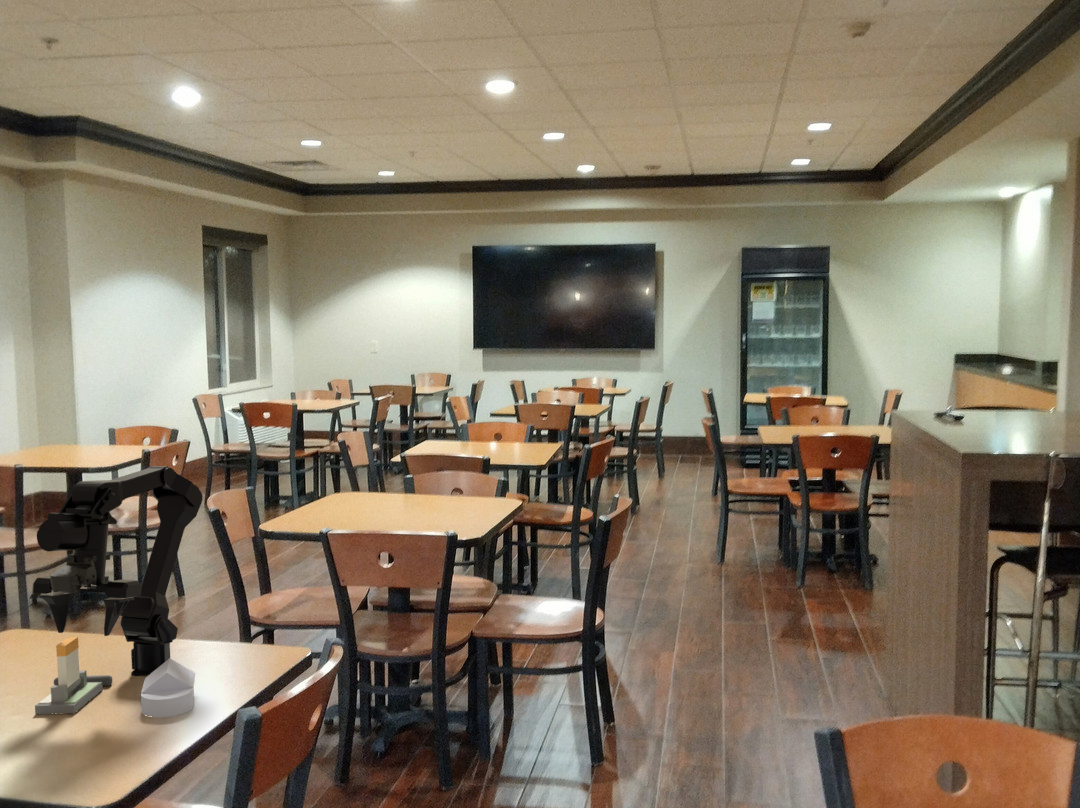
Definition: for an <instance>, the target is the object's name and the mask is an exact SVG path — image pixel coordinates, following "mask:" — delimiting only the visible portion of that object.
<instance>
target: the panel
mask: <svg viewBox="0 0 1080 808" xmlns="http://www.w3.org/2000/svg"><path fill="white" fill-rule="evenodd" d="M87 673H88V672H87V670H86V669H85V670H80V669H79V677H80V678H81V684H80V685H79V686H78V687H76V688H75V689H74V690H73V691H71V692H70V693H69V694H68V693H67V685H54V684H53V685H52V686H51V687H50V693H49V694H48V695H46V697H44V698H43V699H42V700H40V701H39V702H38V703H36V704H35V705H34V711H35V712H34V713H35V714H39V715H60V714H59V713H75V712H76V711H77V712H79V711H80V710H81V709H82V708H83V707H85V706H86V705H87V704H88V703H89V702H91V701H92V700H93V699H94V698H95V697H97V696H98V695H99V694H100V693H101V692H102V691H103V690H104V689H103V687H104V686H102V682H87V676H88V674H87ZM100 691H101V692H100ZM99 692H100V693H99ZM98 693H99V694H98ZM93 697H94V698H93ZM92 698H93V699H92ZM91 699H92V700H91ZM88 701H89V702H88ZM87 702H88V703H87ZM86 703H87V704H86ZM85 704H86V705H85ZM81 707H82V708H81ZM80 708H81V709H80ZM79 709H80V710H79ZM78 710H79V711H78ZM77 712H76V713H77ZM52 713H53V714H52ZM55 713H57V714H55ZM76 713H75V714H76Z"/></svg>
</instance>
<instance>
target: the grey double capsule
mask: <svg viewBox="0 0 1080 808" xmlns="http://www.w3.org/2000/svg"><path fill="white" fill-rule="evenodd" d="M87 682H102V687H111V686H112V684H113V677H112V676H111V675H108V674H107V675H106V674H105V675H92V674H91V675H87ZM54 685H58V676H57V677H55V678H54V679H53V686H54ZM110 685H111V686H110Z"/></svg>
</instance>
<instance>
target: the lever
mask: <svg viewBox="0 0 1080 808" xmlns="http://www.w3.org/2000/svg"><path fill="white" fill-rule="evenodd" d="M79 647H80V646H79V636H71V637H70V636H69V637H67V638H66V639H64V640H62V641H61V642H60V643H58V644H57V645H56V646H55V648H56V651H55V652H56V660H57V662H56V663H57V677H58V685H67V693H68V694H69V693H70V692H71V691H73V690H74V689H75V688H76V687H78V686H79V685H80V684H81V678H80V677H79V670H80V660H79V659H80V657H79Z"/></svg>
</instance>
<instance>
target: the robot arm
mask: <svg viewBox="0 0 1080 808" xmlns="http://www.w3.org/2000/svg"><path fill="white" fill-rule="evenodd" d="M149 491H150V495H151V496H153V498H154V499H155V500H156V501H157V503H156V504H157V505H156V511H157V514H158V519H159V526H158V530H157V532H156V535H155V539H154V543H153V547H152V549H151V553H150V555H149V559H148V562H147V565H146V569H145V572H144V576H143V580H142V582H141V583H140V581H139V580H138V579H137V580H135V579H117V580H116V579H115V580H111V581H109V580H110V578H109V577H110V576H108V575H106V567H107V566H106V564H107V561H109V560H111V554H109V553H107V552H108V538H109V537H108V536H109V525H116V524H118V520H117V519H116V518H115V517H113V515H112V514H111V512H112V511H114V510H115V509H117V508H118V507H120V506H121V505H122V503H123V501H125V500H127V499H128V498H129V499H130V498H133V497H135V496H138V495H141V494H144V493H146V492H149ZM202 503H203V494H202V491H201V490H200V488H199V487H198V486H197V485H196V484H194V482H192V481H191V480H189V479H188V478H186V477H184V476H182V475H180V474H178V472H177V471H175V470H174V468H172V467H170V466H169V465H167V466H166V465H163V466H162V465H160V466H159V465H152V466H148V467H147V468H144V469H141V470H139V471H135V472H132V473H129V474H125V475H123V476H118V477H115V478H112V479H104V480H103V479H102V480H99V479H98V480H80V481H79V482H77V483H76V484H75V485H74V486H73V489H72V491H71V492H70V494H69V496H68V497H67V498H66V500H65V502H64V503H63V505H62V507H61V508H60V510H59V511H58V512H48V513H47V519H45V520H44V521H43V522H42V523H41V524H40V525H39V528H38V530H37V531H36V541H37V544H38V546H39V547H40V548H41V550H43V551H45V552H63V551H64V552H65V551H72V553H71V554H68V556H67V557H66V558H67V560H66V564H65V565H63V566H61V567H59V568H58V569H56V570H55V571H52V572H51V573H50V574H49V575H47V576H40V577H37V578H35V580H34V581H33V583H32V588H31V593H32V594H37V595H38V598H39V599H43V600H44V601H45V602H46V603H47V604H48V607H49V608H50V611H51V613H52V617H53V620H54V623H55V627H56V630H57V633H59V634H62V633H64V632H65V629H66V625H67V619H68V614H69V613H68V612H69V608H70V600H71V595H72V594H74V593H77V592H82V593H85V592H86V593H97V594H98V593H99V594H100V593H101V594H105V595H106V596H107V598H103V599H102V602H103V603H104V606H105V614H104V624H103V634H104V637H108V636H110V634H111V632H112V631H113V629H114V627H115V625H116V623H117V621H118V620H119V618H120V617H121V619H120V627H121V629H122V631H123V636H124V638H125V640H126V642H127V643H130V642H131V643H132V645H133V647H132V649H131V650H130V653H131V654H130V659H131V660H130V661H131V670H132V671H131V672H130V675H131V676H148V675H150V674H151V673H152V672H153V671H155V670H156V669H157V668H158V667H159V666H161V665H162V664H163V663H164V662H166V661H167V660H168V659H169V658H170V659H171V643H173V641H174V640H176V639H177V635H178V630H179V629H178V627H177V626H176V625H175V624H174V623H173V622H172V621H171V620H170V619H169V614H170V608H169V604H168V601H167V597H166V595H167V592H168V591H167V590H168V587H169V583H170V580H171V576H172V573H173V570H174V566H175V563H176V560H177V556H178V554H179V553H178V552H179V549H180V546H181V542H182V539H183V536H184V532H185V529H186V527H187V526H188V525H189V524H190V523H192V521H193V520H194V519H195V518H196V517H197V515H198V512H199V511H200V507H201V506H202Z"/></svg>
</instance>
